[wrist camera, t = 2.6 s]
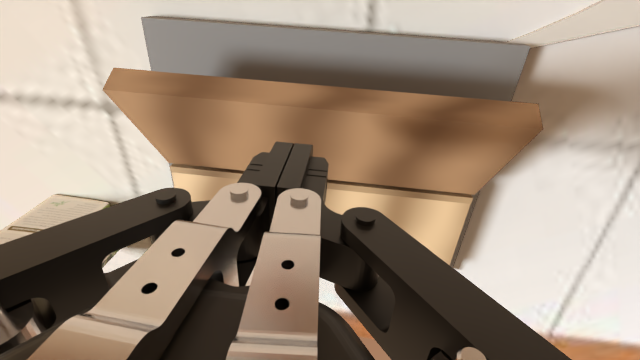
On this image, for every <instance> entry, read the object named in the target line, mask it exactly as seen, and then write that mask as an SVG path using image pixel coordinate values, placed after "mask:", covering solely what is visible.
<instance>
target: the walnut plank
mask: <svg viewBox="0 0 640 360" xmlns="http://www.w3.org/2000/svg"><path fill="white" fill-rule="evenodd" d="M103 91H104V92H105V93H106V94H107V95H108V96H109V97H110V98H111V100H112V101H113V102H114V103H115V104H116V105H117V106H118V107H119V108H120V109H121V111H122V112H123V113H124V114H125V115H126V116H127V117H128V118H129V119H130V120H131V122H132V123H133V124H134V125H135V126H136V127H137V128H138V129H139V130H140V131H141V133H142V134H143V135H144V136H145V137H146V138H147V139H148V140H149V141H150V143H151V144H152V145H153V146H154V147H155V148H156V149H157V150H158V151H159V152H160V154H161V155H162V156H163V157H164V158H165V159H166V160H167V161H168V162H169V163H175V164H185V165H194V166H204V167H213V168H223V169H233V170H242V171H245V170H246V168H247V166H248V165H249V163H250V161H251V160H252V158H253V157H254V156H256V155H258V154H259V153H261V152H268V153H270V151H271V149H272V147H273V146H274V144H275V142H287V143H294V144H295V143H299V144H310V145H313V157H323V158H325V159H326V161H327V162H328V164H329V167H328V179H329V180H338V181H348V182H357V183H367V184H377V185H386V186H396V187H405V188H415V189H425V190H434V191H444V192H453V193H463V194H473V195H475V194H476V193H477V192H478V191H479V190H480V189H481V188H482V187H483V186H484V185H485V184H486V183H487V182H488V181H489V180H490V179H491V178H493V177H494V176H495V175H496V174H497V173H498V172H499V171H500V170H501V169H502V168H503V167H504V166H505V165H506V164H507V163H508V162H509V161H510V160H511V159H512V158H513V157H515V156H516V155H517V154H518V153H519V152H520V151H521V150H522V149H523V148H524V147H525V146H526V145H527V144H528V143H529V142H530V141H531V140H532V139H533V138H534V137H535V136H537V135H538V134H539V133H540V132H541V131H542V130H543V126H542V121H541V116H540V111H539V106H538V104H534V103H522V102H511V101H499V100H487V99H475V98H463V97H452V96H440V95H428V94H416V93H405V92H393V91H381V90H369V89H357V88H346V87H334V86H322V85H310V84H299V83H287V82H275V81H263V80H252V79H240V78H228V77H216V76H204V75H193V74H181V73H169V72H157V71H146V70H134V69H122V68H113V70H112V72H111V74H110V76H109V78H108V80H107V82H106V84H105V86H104V88H103Z"/></svg>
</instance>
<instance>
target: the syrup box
mask: <svg viewBox="0 0 640 360" xmlns="http://www.w3.org/2000/svg"><path fill="white" fill-rule="evenodd" d="M108 207H110V204H109V203H108V202H103V201H98V200H92V199H85V198H78V197H71V196H64V195H56V194H55V195H52V196H51V197H49V198H48V199H46V200H45V201H43V202H42V203H40V204H39V205H37V206H36V207H35V208H33V209H32V210H30V211H29V212H27V213H26V214H25V215H23V216H22V217H20V218H19V219H17V220H15V221H14V222H12V223H11V224H10V225H8V226H7V227H5V228H3V229H2V230H0V245H1V244H3V243H6V242H9V241H12V240H15V239H18V238H21V237H24V236H27V235H29V234H32V233H35V232H38V231H41V230H44V229H47V228H50V227H53V226H56V225H58V224H61V223H64V222H67V221H70V220H73V219H76V218H79V217H82V216H84V215H87V214H90V213H93V212H96V211H99V210H102V209H105V208H108ZM119 250H120V249H119ZM119 250H117V251H115V252H113V253H111V254H109V255H108V256H107V257H106V258H105V259H104V260H103V262H102V268H103V267H104V266H105V265H106V263H107V262H108V261H109V260H110V259H111V258H112V257H113V256H114V255H115V254H116V253H117V252H118V251H119ZM33 299H34V298H33Z"/></svg>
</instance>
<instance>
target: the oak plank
mask: <svg viewBox="0 0 640 360" xmlns="http://www.w3.org/2000/svg"><path fill="white" fill-rule="evenodd" d="M170 170H171V172H172V177H173V182H174V188H181V189H184V190H186V191H188V192H189V193H190V195H191V201H192V202H196V201H207V200H211V199H212V198H213V197H214V196H215V195H216V194H217V192H218V191H219V190H220V189H221V188H223V187H225V186H227V185H230V184H234V183H237V182H238V181H239V179H240V177H241V176H242V174H243V173H244V171H242V170H233V169H223V168H213V167H204V166H194V165H185V164H175V163H173V164H172V165H171V166H170ZM472 200H473V197H472V195H471V194H463V193H453V192H444V191H434V190H425V189H415V188H405V187H396V186H386V185H377V184H367V183H357V182H348V181H338V180H329V179H328V180H327V193H326V201H325V205H326V207H328V208H329V209H330V210H332V211H333V212H336V213H338V214H341V215H343V213H344V212H345V211H347V210H349V209H351V208H355V207H367V208H371V209H374V210H377V211H379V212H381V213H382V214H383V215H385V216H386V217H387V218H389V219H390V220H391V221H393V222H394V223H395V224H396V225H398V226H399V227H400V228H402V229H403V230H404V231H405V232H407V233H408V234H409V235H411V236H412V237H413V238H415V239H416V240H417V241H418V242H420V243H421V244H422V245H424V246H425V247H426V248H428V249H429V250H430V251H431V252H433V253H434V254H435V255H437V256H438V257H439V258H440V259H442V260H443V261H444V262H446V263H447V264H448V265H450V263H451V260H452V257H453V254H454V251H455V248H456V245H457V242H458V239H459V236H460V234H461V231H462V228H463V225H464V222H465V219H466V216H467V213H468V210H469V207H470V204H471V203H472Z"/></svg>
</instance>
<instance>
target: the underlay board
mask: <svg viewBox="0 0 640 360" xmlns="http://www.w3.org/2000/svg"><path fill="white" fill-rule="evenodd" d="M141 20H142V25H143V30H144V35H145V40H146V46H147V51H148V56H149V61H150V66H151V71H157V72H169V73H181V74H193V75H204V76H216V77H228V78H240V79H252V80H263V81H275V82H287V83H299V84H310V85H322V86H334V87H346V88H357V89H369V90H381V91H393V92H405V93H416V94H428V95H440V96H452V97H463V98H475V99H487V100H499V101H511V100H512V98H513V95H514V92H515V89H516V86H517V83H518V81H519V78H520V75H521V72H522V69H523V66H524V63H525V61H526V58H527V55H528V52H529V49H530V46H529V45H525V44H519V43H507V42H496V41H482V40H468V39H455V38H441V37H428V36H414V35H400V34H387V33H373V32H359V31H346V30H332V29H318V28H305V27H291V26H277V25H264V24H250V23H236V22H223V21H209V20H195V19H182V18H168V17H154V16H149V17H141ZM172 164H173V163H169V165H170V166H171V165H172ZM170 171H171V170H170ZM171 176H172V172H171ZM172 181H173V177H172ZM173 186H174V182H173ZM479 192H480V190H479V191H478V192H477V193H476V194H475V195H473V194H471V195H472V197H473V200H472V203H471V204H470V207H469V210H468V213H467V216H466V219H465V222H464V225H463V228H462V231H461V234H460V236H459V239H458V242H457V245H456V248H455V251H454V254H453V257H452V260H451V263H450V266H451V267H452V268H453V266H454V263H455V260H456V257H457V255H458V252H459V249H460V246H461V243H462V240H463V237H464V235H465V232H466V229H467V226H468V223H469V220H470V217H471V215H472V212H473V209H474V206H475V203H476V200H477V197H478V195H479Z"/></svg>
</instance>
